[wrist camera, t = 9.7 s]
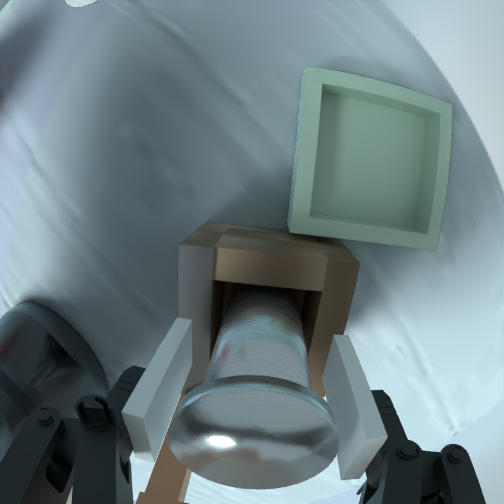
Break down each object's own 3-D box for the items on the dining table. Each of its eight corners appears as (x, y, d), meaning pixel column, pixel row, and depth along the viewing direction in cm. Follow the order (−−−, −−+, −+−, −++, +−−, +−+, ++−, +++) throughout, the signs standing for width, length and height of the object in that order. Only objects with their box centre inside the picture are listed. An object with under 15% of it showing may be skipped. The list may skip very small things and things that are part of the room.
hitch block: (200, 377, 24) (184, 428, 18) (205, 222, 20) (178, 244, 14) (303, 388, 24) (309, 441, 18) (335, 236, 20) (361, 264, 14)
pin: (221, 325, 21) (175, 477, 9) (226, 252, 20) (160, 382, 7) (297, 333, 21) (315, 490, 9) (310, 261, 20) (362, 401, 7)
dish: (286, 223, 20) (289, 232, 17) (301, 80, 17) (306, 65, 14) (416, 240, 20) (436, 251, 17) (431, 110, 17) (452, 104, 14)
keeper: (183, 416, 17) (126, 589, 4) (180, 386, 16) (107, 583, 4) (292, 429, 17) (295, 613, 4) (301, 400, 16) (313, 611, 3)
